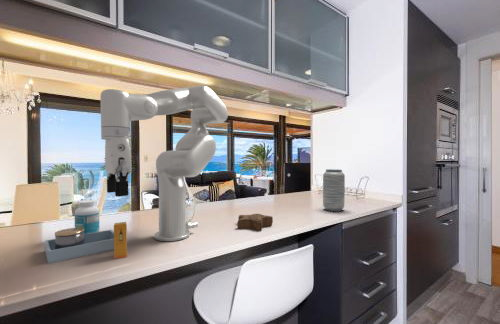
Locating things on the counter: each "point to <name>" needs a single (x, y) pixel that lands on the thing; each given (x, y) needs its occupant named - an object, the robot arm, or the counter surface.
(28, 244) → the counter surface
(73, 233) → the tin
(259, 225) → the decorative item
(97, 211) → the pill bottle
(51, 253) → the tote
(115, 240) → the supplement box
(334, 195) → the vase
